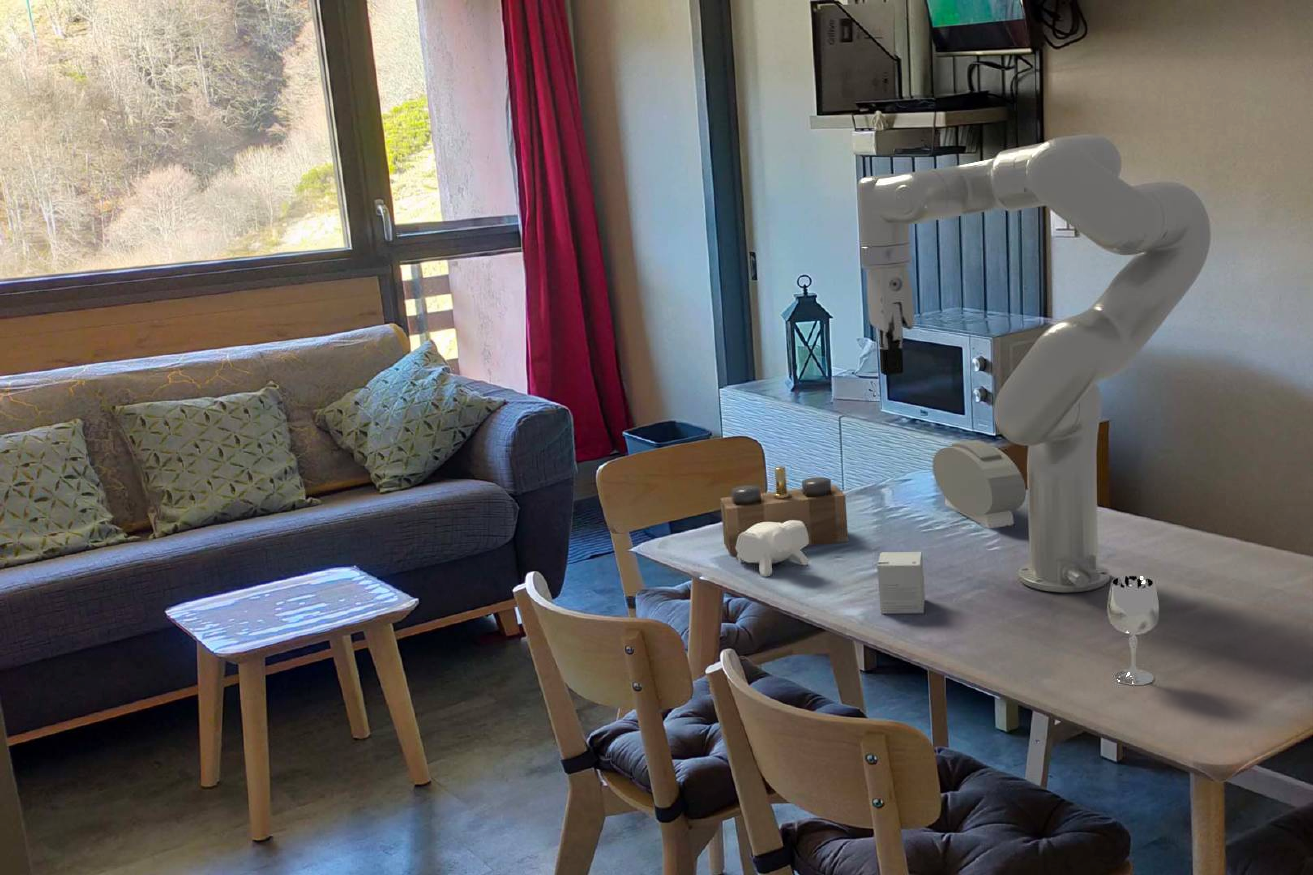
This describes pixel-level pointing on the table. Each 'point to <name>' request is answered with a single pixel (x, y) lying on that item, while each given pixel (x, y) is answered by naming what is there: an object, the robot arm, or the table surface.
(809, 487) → the knob
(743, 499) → the dark grey rounded lump
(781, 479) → the brass door knob
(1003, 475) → the alarm clock
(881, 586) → the skincare box
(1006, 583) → the table surface
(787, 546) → the white piece
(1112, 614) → the wineglass
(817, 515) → the walnut mount
